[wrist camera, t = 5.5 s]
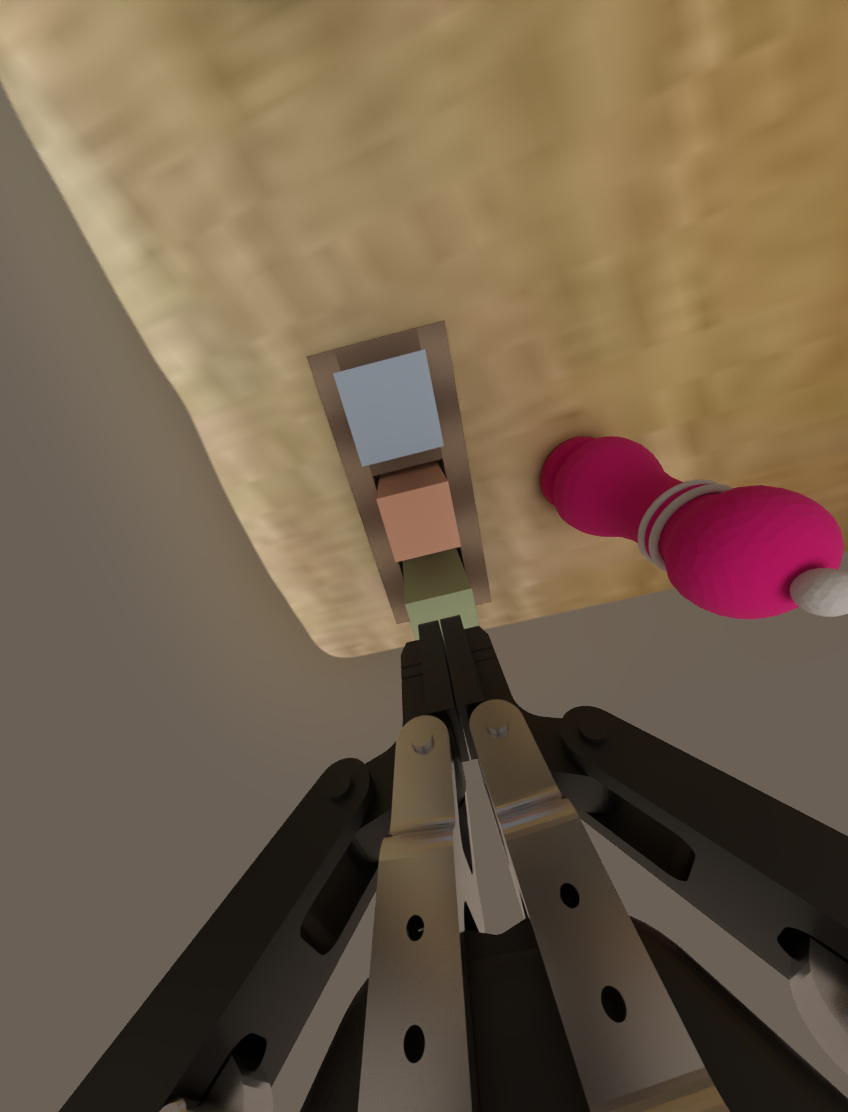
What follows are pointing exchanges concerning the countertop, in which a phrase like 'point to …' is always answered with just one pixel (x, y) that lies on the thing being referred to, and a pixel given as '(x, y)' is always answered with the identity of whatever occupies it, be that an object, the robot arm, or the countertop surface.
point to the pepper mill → (703, 530)
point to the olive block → (438, 590)
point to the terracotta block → (417, 511)
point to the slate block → (390, 407)
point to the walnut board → (449, 455)
